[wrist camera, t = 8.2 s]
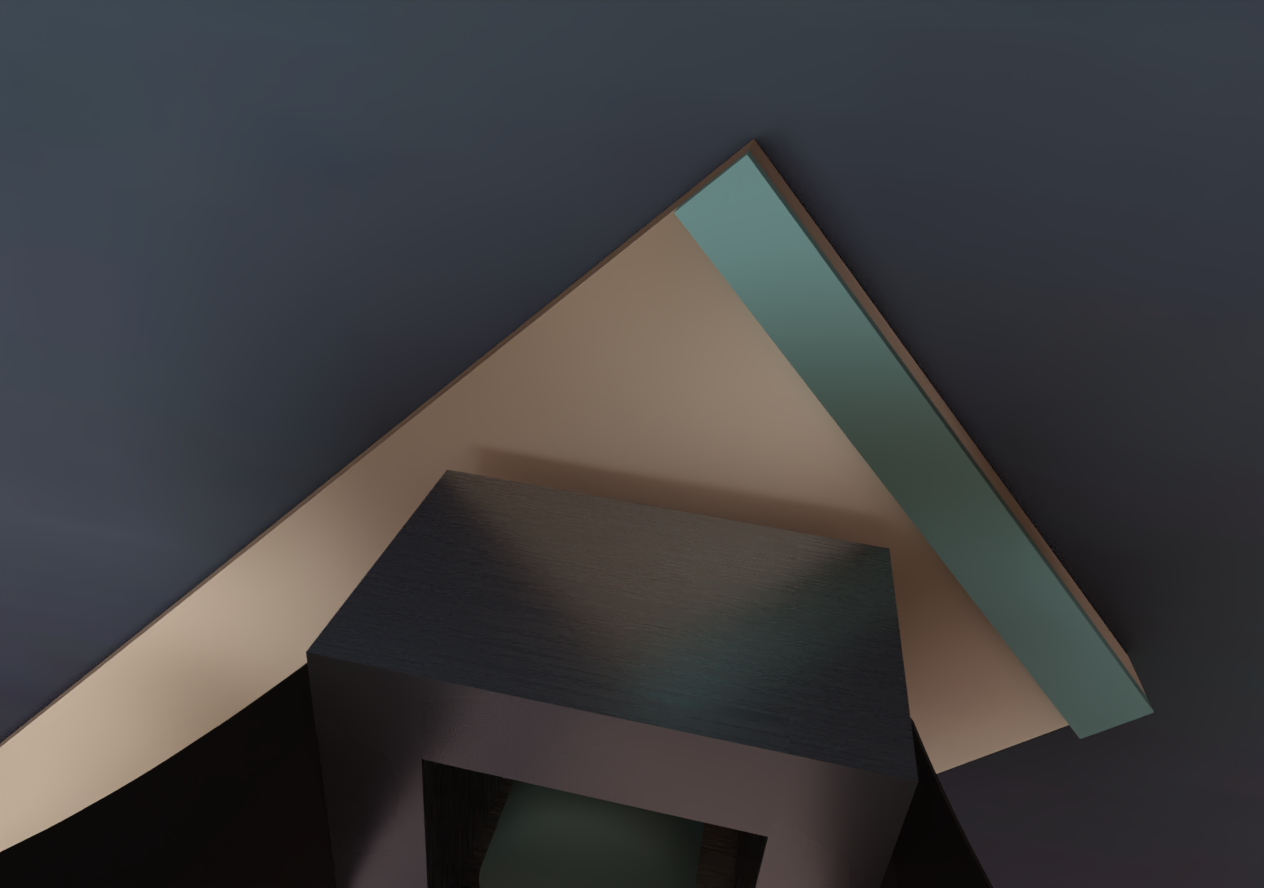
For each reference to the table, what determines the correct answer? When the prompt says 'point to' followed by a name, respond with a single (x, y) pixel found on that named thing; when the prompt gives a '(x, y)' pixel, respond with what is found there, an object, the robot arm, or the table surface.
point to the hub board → (650, 475)
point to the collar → (613, 687)
